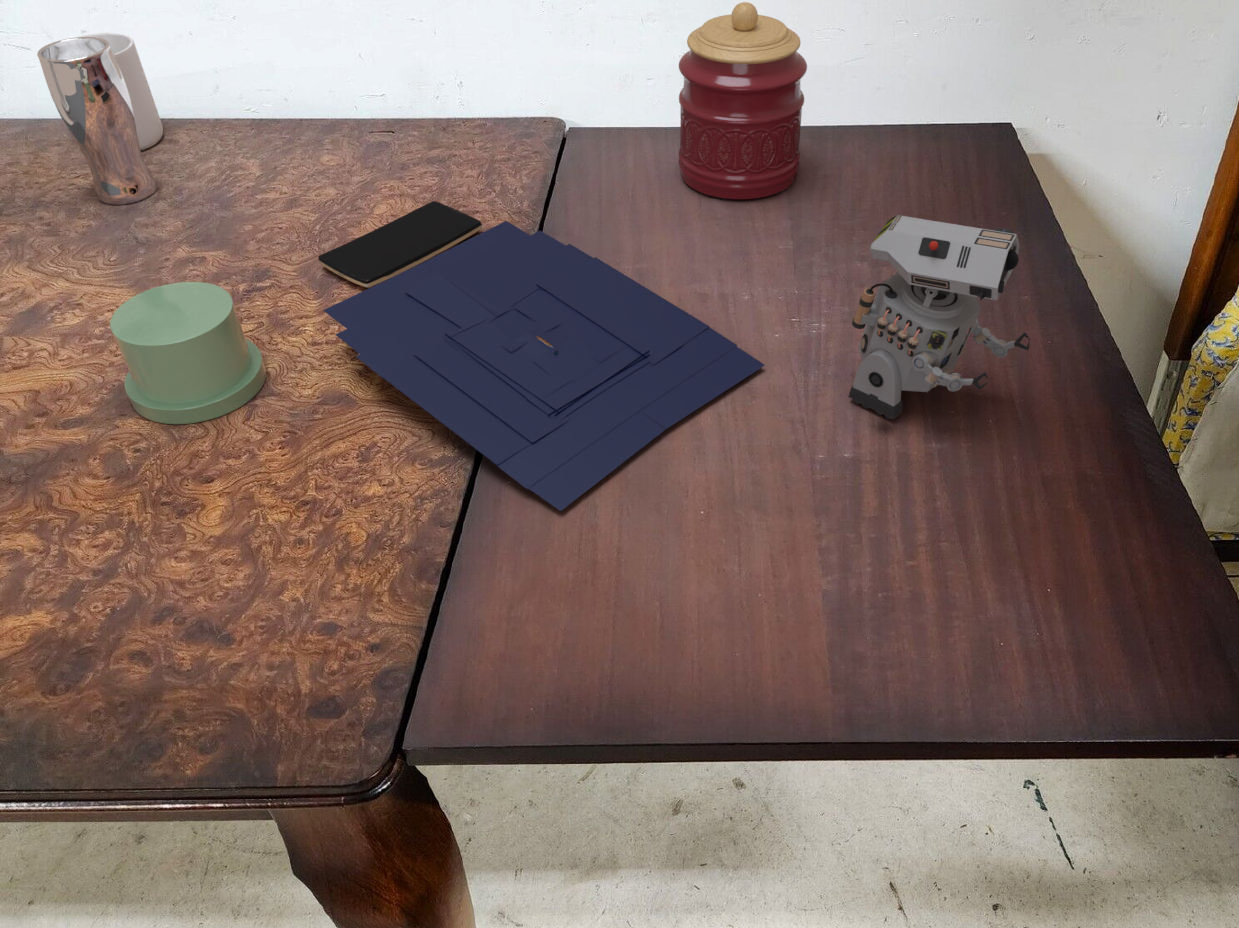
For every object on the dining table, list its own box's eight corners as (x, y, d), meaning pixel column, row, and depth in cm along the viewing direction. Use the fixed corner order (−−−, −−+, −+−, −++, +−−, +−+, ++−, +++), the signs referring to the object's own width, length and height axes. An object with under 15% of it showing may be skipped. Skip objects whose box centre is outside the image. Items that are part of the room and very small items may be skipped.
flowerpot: (119, 432, 84) (85, 358, 79) (142, 355, 91) (112, 284, 87) (261, 415, 85) (236, 341, 80) (271, 340, 93) (249, 269, 88)
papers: (521, 238, 103) (520, 204, 100) (762, 388, 91) (769, 355, 88) (309, 345, 90) (301, 310, 87) (557, 538, 77) (557, 504, 75)
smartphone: (314, 256, 101) (434, 199, 109) (317, 267, 102) (436, 209, 110) (363, 282, 97) (484, 220, 106) (366, 293, 98) (485, 231, 106)
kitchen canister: (733, 138, 122) (739, -27, 110) (822, 173, 115) (839, 1, 103) (653, 176, 115) (650, 4, 103) (744, 214, 109) (752, 36, 97)
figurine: (955, 454, 80) (996, 281, 70) (832, 394, 86) (852, 225, 76) (1015, 400, 85) (1061, 230, 75) (894, 346, 91) (921, 181, 81)
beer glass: (92, 184, 115) (34, 42, 105) (159, 172, 117) (109, 31, 107) (93, 212, 111) (34, 65, 100) (164, 199, 113) (112, 54, 102)
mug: (89, 175, 117) (50, 77, 110) (85, 133, 125) (48, 39, 118) (171, 160, 120) (138, 63, 112) (162, 120, 128) (130, 27, 120)
